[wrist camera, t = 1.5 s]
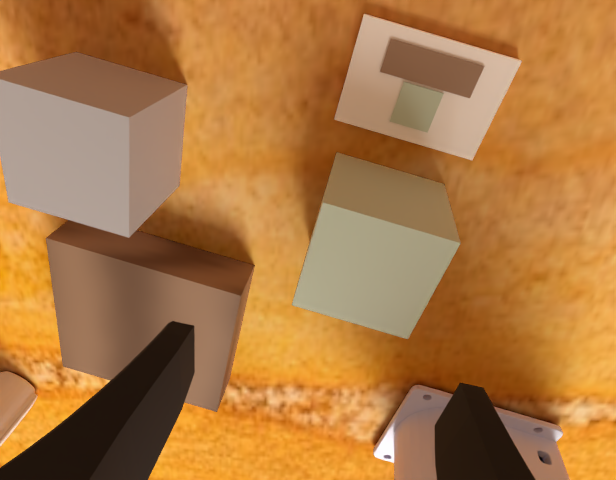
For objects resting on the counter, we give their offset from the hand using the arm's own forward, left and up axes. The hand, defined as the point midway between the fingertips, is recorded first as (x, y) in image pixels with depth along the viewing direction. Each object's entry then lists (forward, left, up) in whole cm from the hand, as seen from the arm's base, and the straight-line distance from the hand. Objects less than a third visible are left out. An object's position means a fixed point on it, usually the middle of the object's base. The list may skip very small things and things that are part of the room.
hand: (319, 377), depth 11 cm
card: (-1, -6, -10) cm, 12 cm away
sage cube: (-1, 0, -10) cm, 10 cm away
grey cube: (+11, -1, -10) cm, 15 cm away
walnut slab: (+9, +10, -11) cm, 17 cm away
